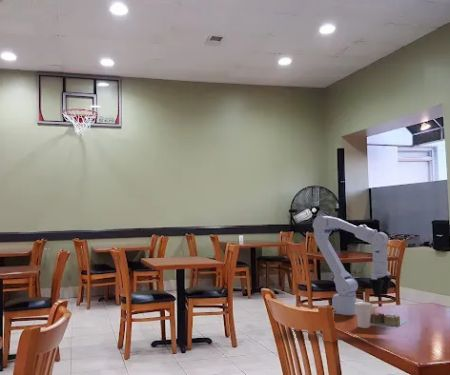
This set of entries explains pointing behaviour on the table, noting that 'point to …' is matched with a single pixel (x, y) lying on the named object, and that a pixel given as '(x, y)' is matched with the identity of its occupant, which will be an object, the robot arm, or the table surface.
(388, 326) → the gear board
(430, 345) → the table surface
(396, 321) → the beech gear
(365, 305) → the smoothie
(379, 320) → the walnut gear
